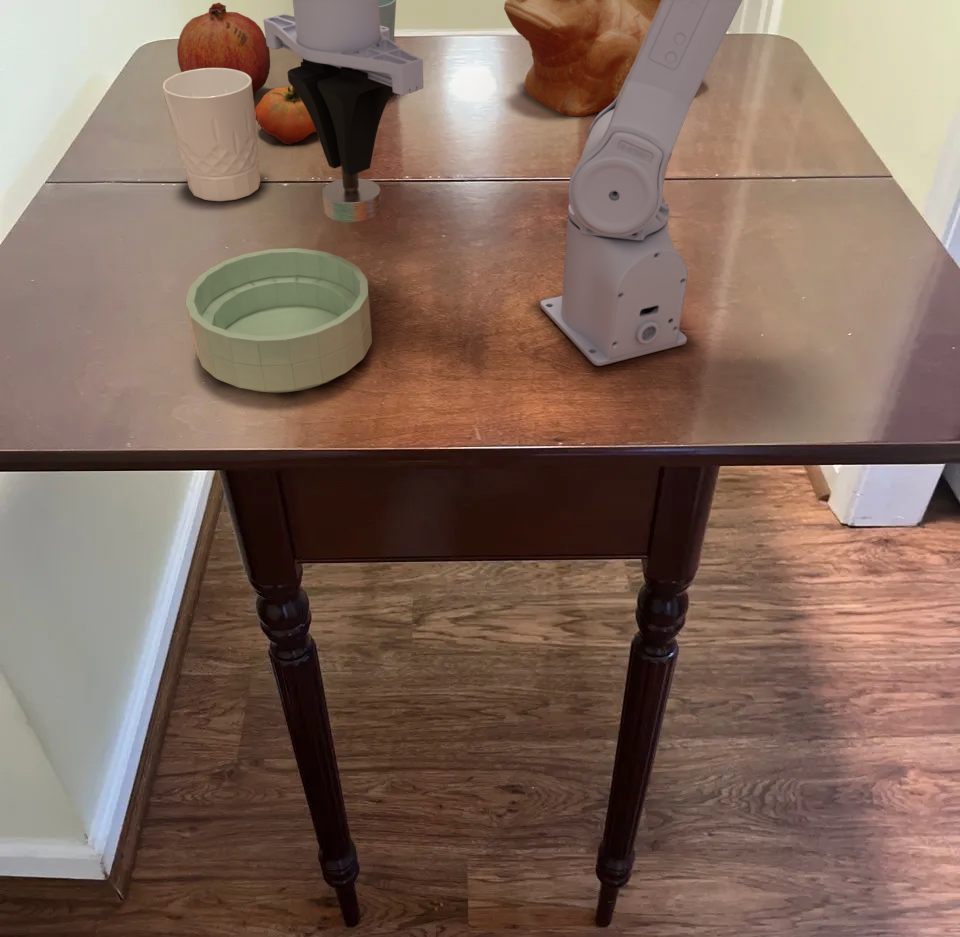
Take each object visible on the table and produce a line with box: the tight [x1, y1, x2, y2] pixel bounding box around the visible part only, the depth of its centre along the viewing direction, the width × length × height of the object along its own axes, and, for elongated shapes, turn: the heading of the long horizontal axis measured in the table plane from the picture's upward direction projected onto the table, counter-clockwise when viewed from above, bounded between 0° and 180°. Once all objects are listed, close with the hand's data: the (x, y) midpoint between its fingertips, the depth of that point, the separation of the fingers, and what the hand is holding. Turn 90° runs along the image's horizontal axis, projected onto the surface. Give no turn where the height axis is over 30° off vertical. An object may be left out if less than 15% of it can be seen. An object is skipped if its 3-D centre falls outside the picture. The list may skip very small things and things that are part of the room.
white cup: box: [161, 68, 261, 202], centre depth 90 cm, size 8×8×10 cm
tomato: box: [254, 85, 317, 146], centre depth 103 cm, size 8×7×7 cm
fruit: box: [176, 2, 271, 95], centre depth 108 cm, size 11×10×10 cm
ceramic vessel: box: [503, 0, 661, 117], centre depth 109 cm, size 14×26×15 cm, turn 117°
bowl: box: [184, 247, 373, 394], centre depth 70 cm, size 13×13×5 cm
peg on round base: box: [321, 165, 383, 223], centre depth 71 cm, size 4×4×9 cm
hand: (349, 167), depth 72 cm, fingers closed on peg on round base
